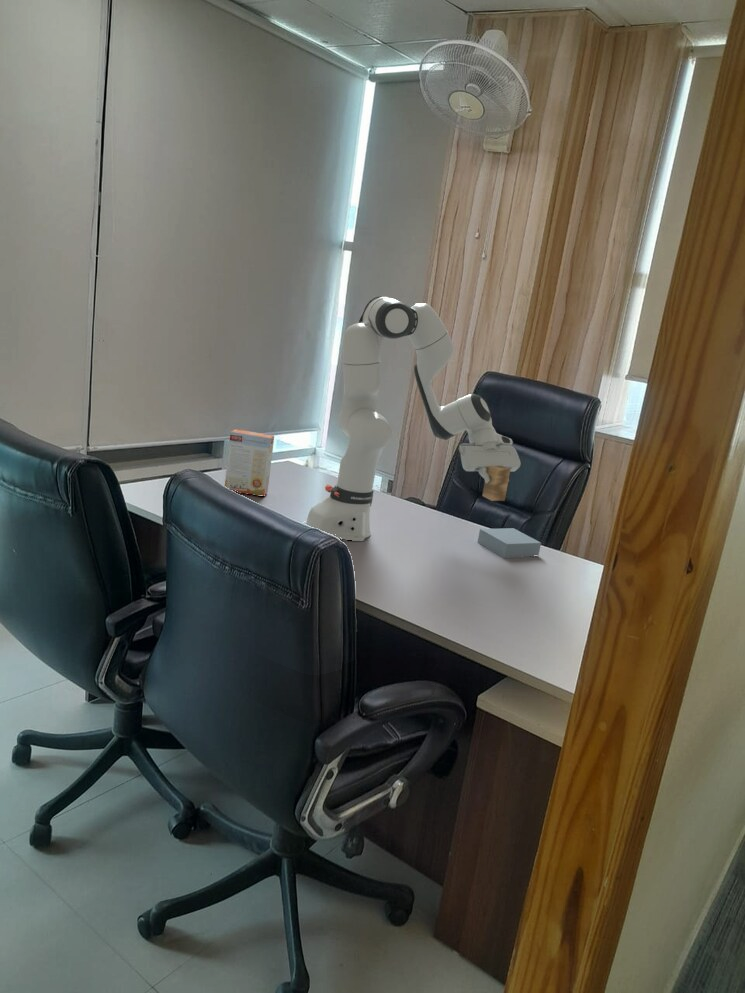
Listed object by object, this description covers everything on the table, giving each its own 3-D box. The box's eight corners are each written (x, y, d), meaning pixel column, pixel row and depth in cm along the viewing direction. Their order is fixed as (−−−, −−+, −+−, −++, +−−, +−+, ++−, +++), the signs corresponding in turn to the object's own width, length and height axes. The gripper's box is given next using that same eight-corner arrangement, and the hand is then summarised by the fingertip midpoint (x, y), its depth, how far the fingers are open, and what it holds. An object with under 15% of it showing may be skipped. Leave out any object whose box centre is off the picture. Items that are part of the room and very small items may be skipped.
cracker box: (267, 494, 272) (275, 435, 267) (263, 498, 266) (271, 438, 261) (228, 486, 273) (235, 428, 267) (223, 491, 267) (230, 430, 262)
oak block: (491, 500, 241) (497, 469, 238) (482, 496, 245) (487, 465, 242) (504, 500, 243) (510, 469, 241) (495, 495, 247) (500, 465, 245)
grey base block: (503, 559, 244) (507, 544, 243) (477, 543, 256) (480, 528, 255) (537, 557, 251) (541, 542, 250) (510, 542, 263) (513, 528, 262)
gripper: (462, 437, 241) (475, 477, 235) (515, 439, 250) (529, 477, 245) (452, 448, 246) (464, 487, 240) (505, 449, 255) (518, 486, 249)
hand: (497, 482), depth 242 cm, fingers closed on oak block, 5 cm apart
